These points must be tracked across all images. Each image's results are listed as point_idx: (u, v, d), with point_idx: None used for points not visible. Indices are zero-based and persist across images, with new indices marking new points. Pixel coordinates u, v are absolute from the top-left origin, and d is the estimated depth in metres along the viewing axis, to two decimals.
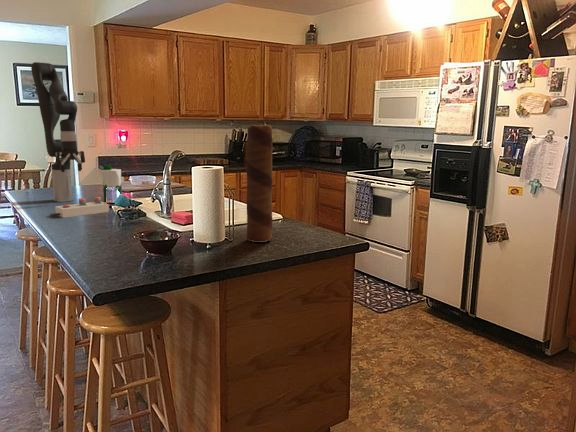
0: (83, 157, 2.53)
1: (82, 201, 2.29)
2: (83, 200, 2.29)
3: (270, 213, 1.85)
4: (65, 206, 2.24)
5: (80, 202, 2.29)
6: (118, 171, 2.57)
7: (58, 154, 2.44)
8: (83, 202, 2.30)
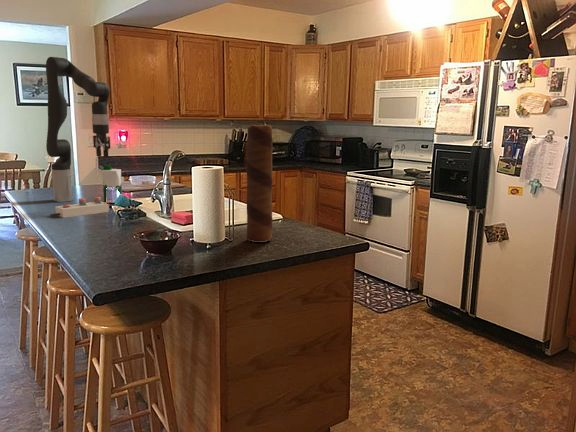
0: None
1: (82, 201, 2.29)
2: (83, 200, 2.29)
3: (270, 213, 1.85)
4: (65, 206, 2.24)
5: (80, 202, 2.29)
6: (118, 171, 2.57)
7: None
8: (83, 202, 2.30)
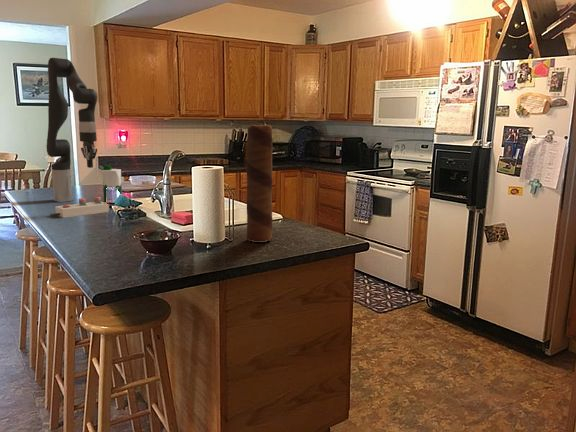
0: None
1: (82, 201, 2.29)
2: (83, 200, 2.29)
3: (270, 213, 1.85)
4: (65, 206, 2.24)
5: (80, 202, 2.29)
6: (118, 171, 2.57)
7: None
8: (83, 202, 2.30)
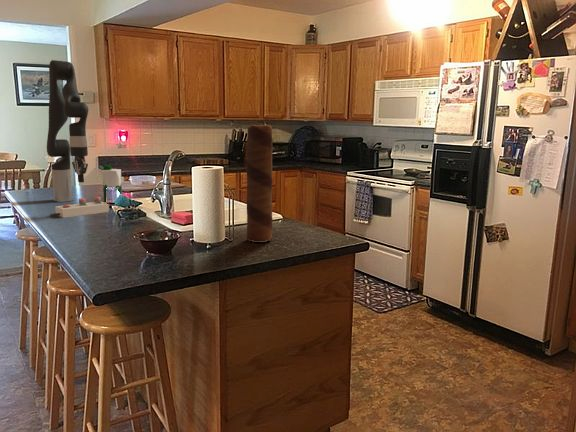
0: None
1: (82, 201, 2.29)
2: (83, 200, 2.29)
3: (270, 213, 1.85)
4: (65, 206, 2.24)
5: (80, 202, 2.29)
6: (118, 171, 2.57)
7: None
8: (83, 202, 2.30)
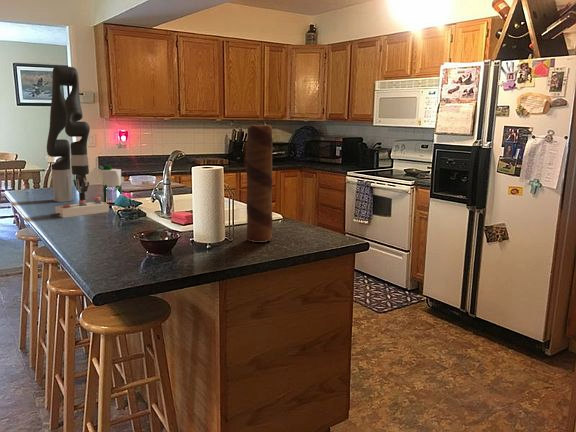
0: None
1: (82, 202, 2.29)
2: (83, 201, 2.30)
3: (270, 213, 1.85)
4: (65, 206, 2.24)
5: (80, 203, 2.29)
6: (118, 171, 2.57)
7: None
8: (84, 203, 2.30)
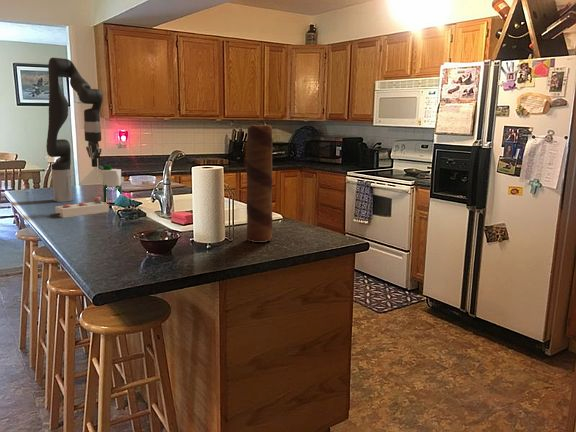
0: None
1: (82, 205, 2.30)
2: (83, 204, 2.30)
3: (270, 213, 1.85)
4: (65, 206, 2.24)
5: None
6: (118, 171, 2.57)
7: None
8: None
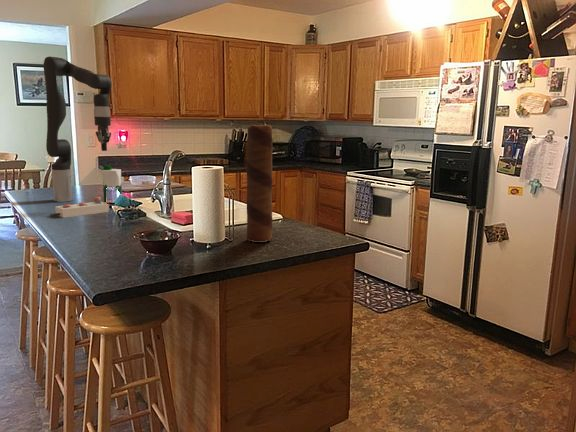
0: None
1: (82, 205, 2.30)
2: (83, 204, 2.30)
3: (270, 213, 1.85)
4: (65, 206, 2.24)
5: None
6: (118, 171, 2.57)
7: None
8: None
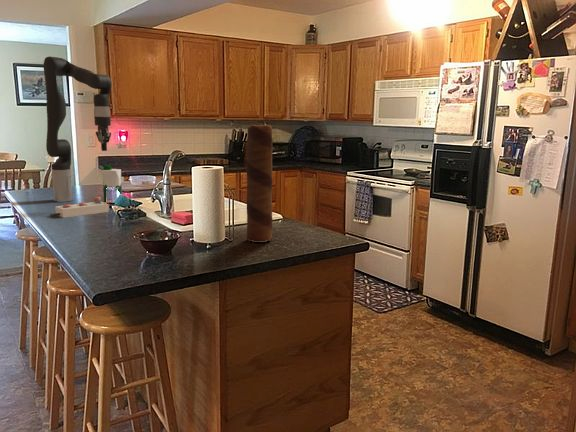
0: None
1: (82, 205, 2.30)
2: (83, 204, 2.30)
3: (270, 213, 1.85)
4: (65, 206, 2.24)
5: None
6: (118, 171, 2.57)
7: None
8: None
